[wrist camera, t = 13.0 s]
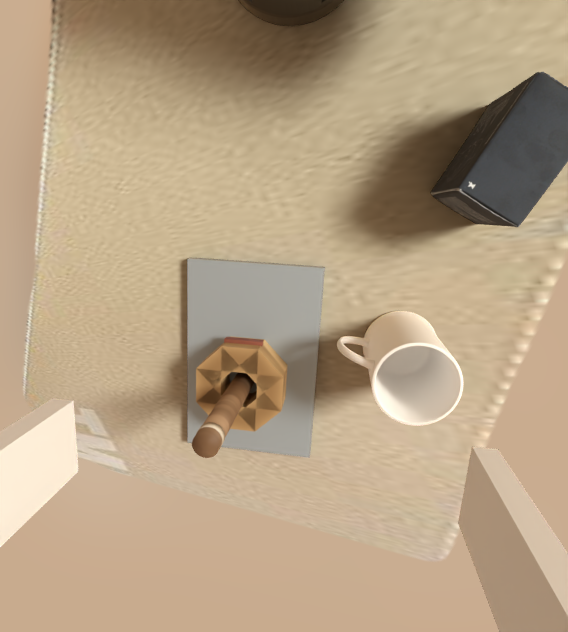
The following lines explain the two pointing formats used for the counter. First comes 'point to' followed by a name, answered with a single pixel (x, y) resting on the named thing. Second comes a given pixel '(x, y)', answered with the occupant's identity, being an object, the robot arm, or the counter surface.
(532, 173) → the box
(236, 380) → the brown cigar
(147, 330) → the counter surface
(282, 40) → the counter surface
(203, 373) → the bead
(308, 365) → the board
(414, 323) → the mug
